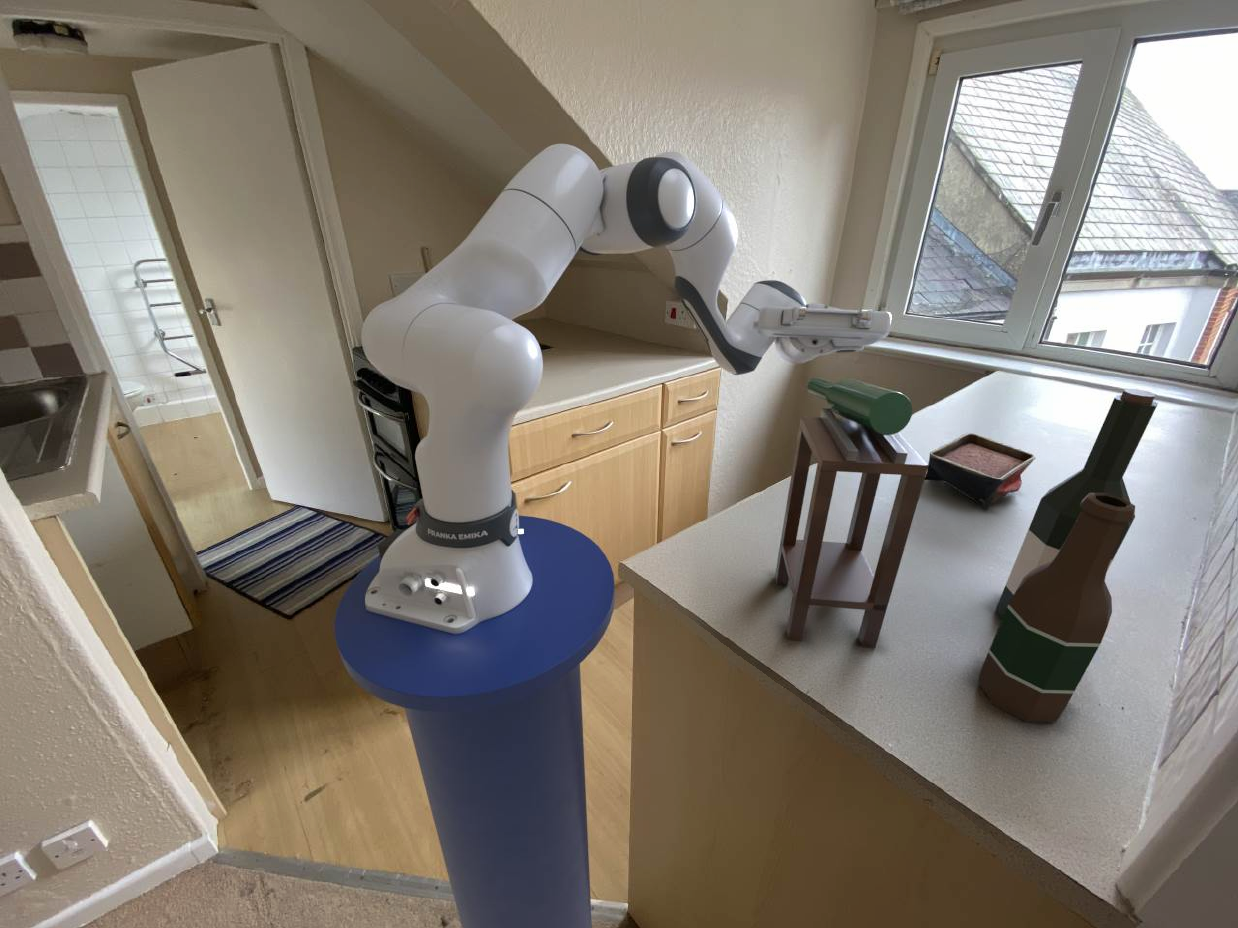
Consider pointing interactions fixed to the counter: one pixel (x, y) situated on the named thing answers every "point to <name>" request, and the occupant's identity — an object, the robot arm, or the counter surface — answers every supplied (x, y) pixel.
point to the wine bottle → (1084, 487)
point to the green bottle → (864, 404)
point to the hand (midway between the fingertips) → (833, 313)
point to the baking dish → (979, 467)
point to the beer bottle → (1057, 618)
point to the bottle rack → (842, 567)
